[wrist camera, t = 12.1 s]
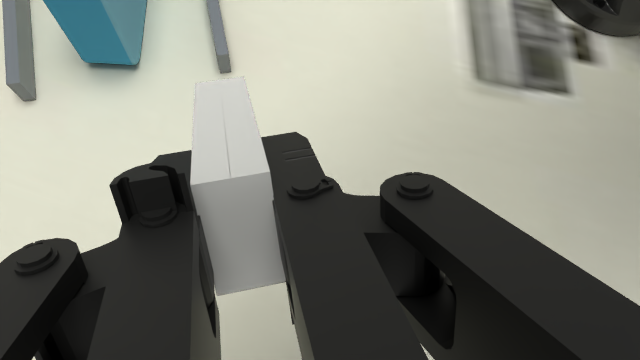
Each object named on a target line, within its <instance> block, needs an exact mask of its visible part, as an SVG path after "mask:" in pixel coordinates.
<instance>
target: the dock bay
mask: <svg viewBox="0 0 640 360" xmlns="http://www.w3.org/2000/svg"><path fill="white" fill-rule="evenodd" d="M2 5H3V25H4V46H5V67H6V85H7V86H9V87H10V88H11V89H12V90H13V91H14V92H15V93H16V94H17V95H18V96H19V97H20V98H21V99H22V100H23V101H30V100H36V90H35V75H34V60H33V45H32V30H31V15H30V0H2ZM207 5H208V11H209V16H210V21H211V27H212V32H213V37H214V43H215V48H216V54H217V59H218V64H219V70H220V73H226V72H231V68H230V60H229V53H228V48H227V43H226V38H225V33H224V28H223V23H222V17H221V12H220V7H219V2H218V0H207Z"/></svg>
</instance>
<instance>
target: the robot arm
mask: <svg viewBox="0 0 640 360" xmlns="http://www.w3.org/2000/svg"><path fill="white" fill-rule="evenodd" d="M554 2H555V3H556V4H557V5H558V6H559V7H560V8H561V9H562V10H563V11H564V12H565V13H566V14H567V15H568V16H570V17H571V18H572V19H574V20H575V21H577V22H578V23H580V24H582V25H584V26H586V27H588V28H590V29H592V30H595V31H598V32H601V33H604V34H609V35H616V36H630V35H636V34H640V0H554ZM109 186H110V189H111V192H112V195H113V198H114V201H115V204H116V206H117V209H118V212H119V215H120V218H121V221H122V227H121V230H120V234H119V238H117V239H116V240H114V241H112V242H110V243H107V244H105V245H103V246H100V247H98V248H95V249H92V250H89V251H87V252H84V253H81V254H80V251H79V249H78V246H77V244H76V243H75V242H73V241H71V240H69V239H61V238H54V239H48V240H40V241H36V242H35V243H31V244H28V245H26V246H24V247H23V248H21V249H19V250H17V251H16V252H14V253H12V254H11V255H9V256H8V257H7V258H6V259H4V260H3V261H2V262H1V263H0V360H32V358H33V357H35V358H36V360H221V345H220V323H219V311H218V307H217V303H216V299H215V294H214V285H215V289H216V293H217V296H219V295H224V294H229V293H234V292H239V291H244V290H249V289H254V288H258V287H263V286H268V285H273V284H278V283H283V282H286V285H287V291H288V298H289V305H290V311H291V318H292V325H293V324H294V325H295V329H296V333H297V338H298V342H299V347H300V351H301V356H302V360H428V358H427V356H426V354H425V352H424V350H423V348H422V346H423V347H424V348H425V349H426V350H427V351H428V352H429V354H430V355H431V356H432V357H433V358H434V359H435V360H640V306H639V305H637V304H636V303H634V302H633V301H631V300H629V299H628V298H626V297H625V296H623V295H622V294H620V293H619V292H617V291H615V290H614V289H612V288H611V287H609V286H608V285H606V284H605V283H603V282H601V281H600V280H598V279H597V278H595V277H594V276H592V275H590V274H589V273H587V272H586V271H584V270H583V269H581V268H580V267H578V266H576V265H575V264H573V263H572V262H570V261H569V260H567V259H565V258H564V257H562V256H561V255H559V254H558V253H556V252H555V251H553V250H551V249H550V248H548V247H547V246H545V245H544V244H542V243H540V242H539V241H537V240H536V239H534V238H533V237H531V236H530V235H528V234H526V233H525V232H523V231H522V230H520V229H519V228H517V227H516V226H514V225H512V224H511V223H509V222H508V221H506V220H505V219H503V218H501V217H500V216H498V215H497V214H495V213H494V212H492V211H491V210H489V209H487V208H486V207H484V206H483V205H481V204H480V203H478V202H476V201H475V200H473V199H472V198H470V197H469V196H467V195H466V194H464V193H462V192H461V191H459V190H458V189H456V188H455V187H453V186H452V185H450V184H448V183H447V182H445V181H444V180H442V179H440V178H437V177H435V176H433V175H428V174H423V173H420V172H414V173H412V172H409V173H404V174H400V175H395V176H393V177H391V178H389V179H387V180H385V181H384V182H383V184H382V185H381V186H380V196H358V195H350V194H346V193H343V192H342V190H341V188H340V186H339V184H338V183H337V182H336V181H335V180H334V179H332V178H330V177H327V176H325V174H324V172H323V170H322V168H321V166H320V164H319V162H318V160H317V158H316V156H315V153H314V151H313V149H312V148H311V145H310V143H309V141H308V139H307V138H306V137H304V136H302V135H300V134H299V133H297V132H292V133H286V134H280V135H273V136H267V137H261V136H260V133H259V129H258V125H257V122H256V118H255V114H254V111H253V107H252V103H251V99H250V96H249V92H248V88H247V85H246V81H245V77H244V76H242V77H235V78H227V79H220V80H213V81H206V82H199V83H195V91H194V113H193V135H192V150H189V151H183V152H177V153H171V154H164V155H159V156H158V157H157V158H156V159H155V160H154V161H153V162H152V163H149V164H145V165H141V166H137V167H135V168H132V169H130V170H127V171H125V172H123V173H122V174H120V175H119V176H117V177H116V178H114V180H113V181H112V182H111V184H110V185H109ZM420 343H421V344H422V346H421V344H420Z"/></svg>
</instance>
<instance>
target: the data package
mask: <svg viewBox="0 0 640 360" xmlns="http://www.w3.org/2000/svg"><path fill="white" fill-rule="evenodd" d="M43 1H44V3H45V4H46V6H47V7H48V9H49V10H50V12H51V13H52V15H53V16H54V18H55V19H56V21H57V22H58V24H59V25H60V27H61V28H62V30H63V31H64V33H65V34H66V36H67V37H68V39H69V40H70V42H71V43H72V45H73V46H74V48H75V49H76V51H77V52H78V54H79V55H80V57H81V58H82V60H83V61H85V62H88V63H108V64H128V65H136V64H137V63H138V62H139V59H140V54H141V46H142V37H143V29H144V21H145V13H146V4H147V0H43Z"/></svg>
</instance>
